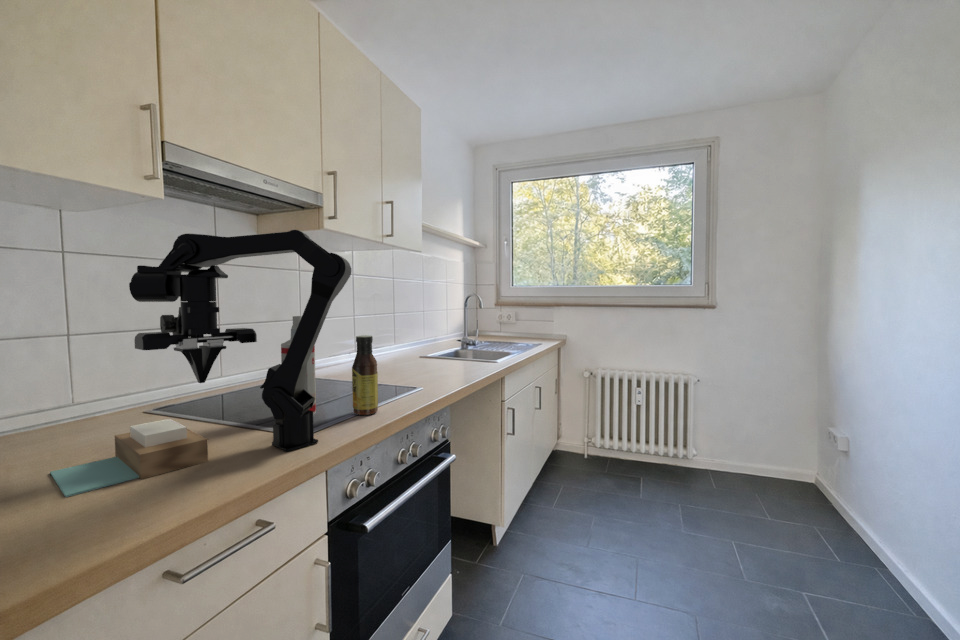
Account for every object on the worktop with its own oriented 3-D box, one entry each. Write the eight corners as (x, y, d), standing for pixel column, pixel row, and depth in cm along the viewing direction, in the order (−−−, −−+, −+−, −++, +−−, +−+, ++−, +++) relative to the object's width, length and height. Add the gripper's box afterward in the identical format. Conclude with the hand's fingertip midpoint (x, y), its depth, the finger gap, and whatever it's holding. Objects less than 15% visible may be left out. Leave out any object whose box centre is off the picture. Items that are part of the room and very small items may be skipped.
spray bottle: (277, 415, 103) (274, 316, 102) (305, 409, 109) (303, 315, 108) (293, 420, 99) (291, 316, 98) (321, 414, 105) (320, 315, 104)
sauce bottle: (355, 410, 108) (354, 334, 108) (379, 409, 109) (378, 334, 108) (350, 417, 102) (349, 336, 101) (376, 416, 103) (375, 336, 102)
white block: (170, 428, 80) (169, 418, 80) (187, 438, 74) (186, 427, 74) (130, 437, 75) (129, 426, 75) (145, 447, 69) (144, 435, 69)
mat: (120, 457, 76) (120, 455, 76) (143, 476, 67) (143, 474, 67) (50, 473, 69) (50, 471, 69) (65, 497, 60) (65, 495, 60)
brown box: (177, 442, 83) (176, 423, 83) (208, 461, 74) (207, 439, 74) (115, 456, 76) (114, 435, 76) (141, 479, 66) (140, 454, 66)
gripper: (233, 302, 91) (235, 372, 92) (124, 302, 76) (127, 385, 77) (256, 301, 85) (258, 377, 85) (142, 301, 70) (145, 393, 70)
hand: (201, 382), depth 80 cm, fingers closed
